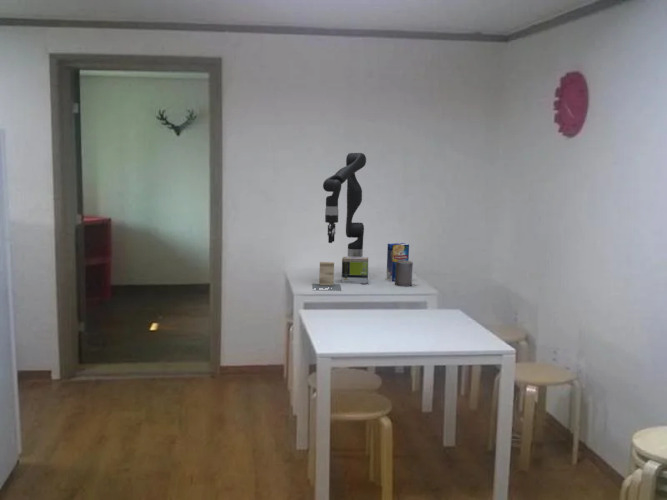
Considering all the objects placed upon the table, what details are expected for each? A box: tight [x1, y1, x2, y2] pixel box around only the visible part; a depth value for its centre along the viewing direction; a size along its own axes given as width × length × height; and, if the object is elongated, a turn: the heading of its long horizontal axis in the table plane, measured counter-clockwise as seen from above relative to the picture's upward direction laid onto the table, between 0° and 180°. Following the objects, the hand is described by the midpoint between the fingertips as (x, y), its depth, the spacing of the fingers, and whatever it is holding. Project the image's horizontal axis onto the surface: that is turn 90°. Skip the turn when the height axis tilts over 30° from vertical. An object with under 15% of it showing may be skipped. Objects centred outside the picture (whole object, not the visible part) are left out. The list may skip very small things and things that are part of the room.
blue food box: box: [385, 242, 410, 283], centre depth 433 cm, size 7×11×22 cm, turn 116°
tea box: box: [341, 256, 369, 285], centre depth 424 cm, size 15×10×15 cm
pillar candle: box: [394, 259, 414, 287], centre depth 419 cm, size 10×10×15 cm
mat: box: [311, 283, 342, 292], centre depth 405 cm, size 20×16×1 cm
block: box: [318, 261, 335, 286], centre depth 410 cm, size 5×8×13 cm, turn 92°
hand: (331, 242), depth 418 cm, fingers open, 8 cm apart
